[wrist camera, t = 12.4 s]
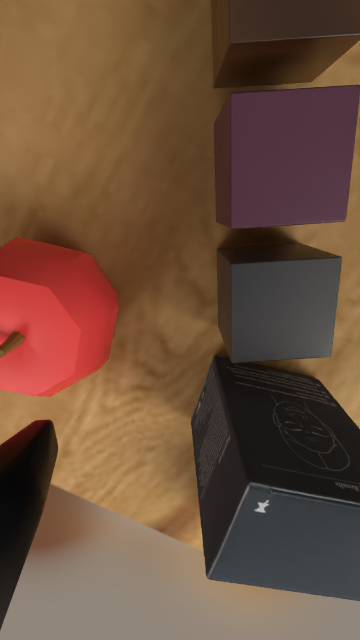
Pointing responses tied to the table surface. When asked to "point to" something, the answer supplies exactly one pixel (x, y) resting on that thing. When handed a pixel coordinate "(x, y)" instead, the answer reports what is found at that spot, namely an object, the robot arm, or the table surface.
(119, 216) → the table surface
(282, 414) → the box
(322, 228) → the table surface
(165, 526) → the table surface
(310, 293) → the block
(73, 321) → the apple
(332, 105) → the block
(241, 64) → the block
